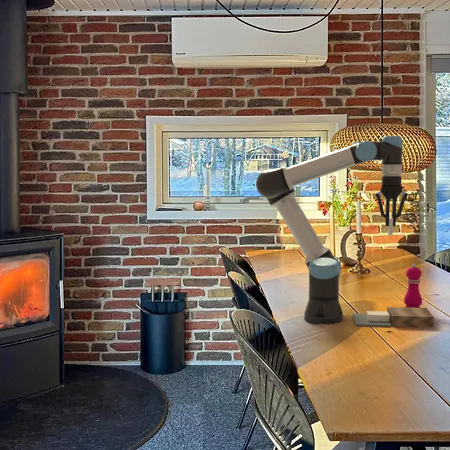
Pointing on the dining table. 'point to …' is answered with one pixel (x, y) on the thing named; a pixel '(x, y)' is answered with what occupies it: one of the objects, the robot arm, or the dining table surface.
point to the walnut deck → (410, 317)
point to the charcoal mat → (363, 321)
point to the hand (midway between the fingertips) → (390, 234)
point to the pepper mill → (413, 288)
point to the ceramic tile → (378, 316)
